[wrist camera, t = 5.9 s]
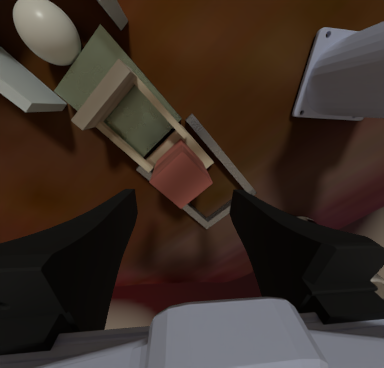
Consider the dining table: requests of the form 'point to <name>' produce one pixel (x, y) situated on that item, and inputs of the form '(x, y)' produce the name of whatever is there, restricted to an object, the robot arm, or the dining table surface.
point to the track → (136, 111)
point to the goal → (30, 85)
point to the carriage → (165, 153)
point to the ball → (47, 31)
